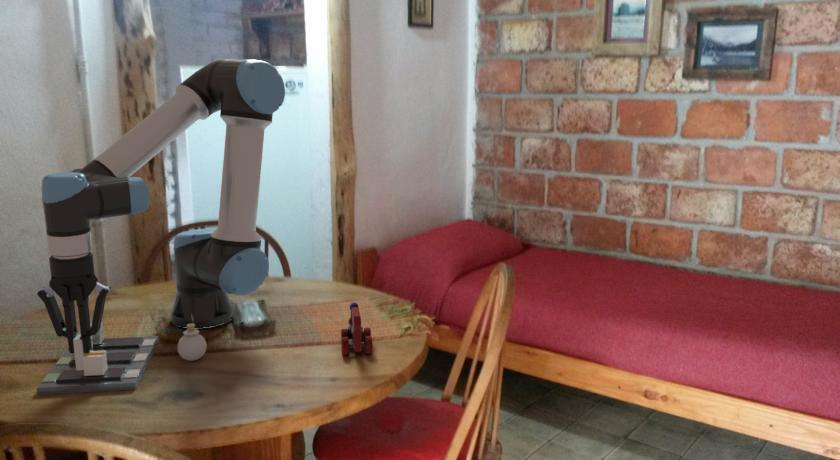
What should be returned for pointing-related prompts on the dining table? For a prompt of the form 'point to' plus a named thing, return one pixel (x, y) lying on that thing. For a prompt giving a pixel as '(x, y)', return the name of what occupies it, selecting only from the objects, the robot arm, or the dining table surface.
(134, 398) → the dining table surface
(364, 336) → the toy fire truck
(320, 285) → the dining table surface
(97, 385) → the panel
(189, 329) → the ornament
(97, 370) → the knob
